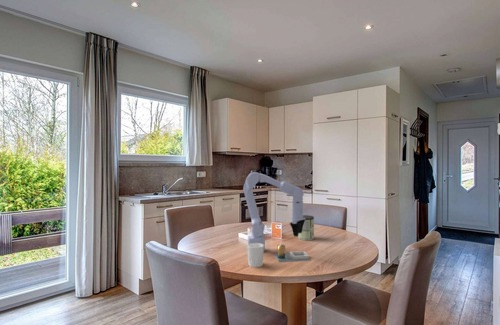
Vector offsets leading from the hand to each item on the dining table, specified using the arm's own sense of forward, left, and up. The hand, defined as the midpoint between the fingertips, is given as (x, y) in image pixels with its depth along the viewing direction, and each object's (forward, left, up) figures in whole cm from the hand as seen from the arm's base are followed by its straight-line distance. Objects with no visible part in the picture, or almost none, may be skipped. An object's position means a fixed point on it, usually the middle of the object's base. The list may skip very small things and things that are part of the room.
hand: (297, 234), depth 157 cm
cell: (-11, -9, -9) cm, 17 cm away
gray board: (-6, -9, -10) cm, 15 cm away
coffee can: (+14, +28, -10) cm, 33 cm away
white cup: (-26, -17, -10) cm, 33 cm away
